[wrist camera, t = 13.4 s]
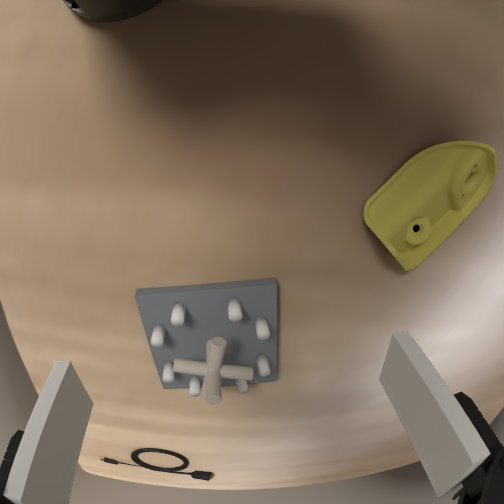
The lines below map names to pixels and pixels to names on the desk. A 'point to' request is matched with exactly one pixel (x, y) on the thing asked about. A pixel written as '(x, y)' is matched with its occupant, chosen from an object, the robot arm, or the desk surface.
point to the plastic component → (430, 198)
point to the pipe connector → (213, 370)
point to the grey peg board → (212, 329)
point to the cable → (195, 474)
